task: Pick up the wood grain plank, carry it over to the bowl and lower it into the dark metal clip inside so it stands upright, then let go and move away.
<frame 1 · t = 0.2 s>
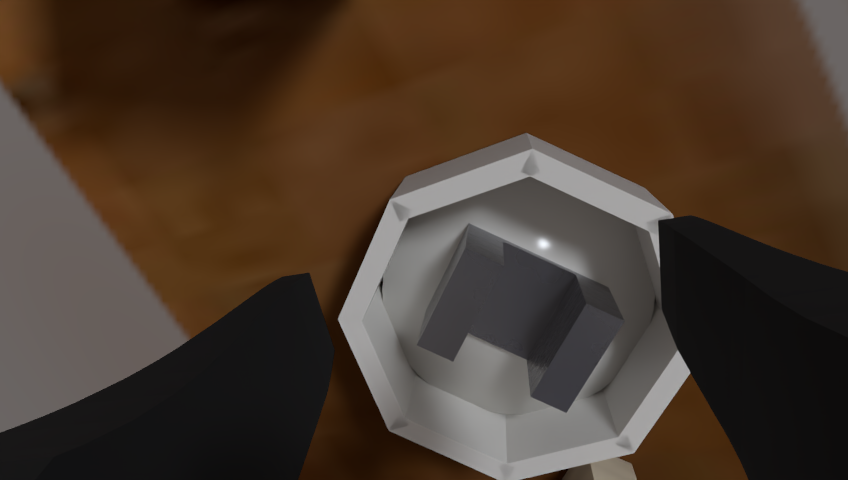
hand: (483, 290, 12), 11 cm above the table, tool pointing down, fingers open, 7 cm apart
bowl: (514, 291, 23), on the table
clip: (516, 315, 21), in the bowl, point 2 cm above the table
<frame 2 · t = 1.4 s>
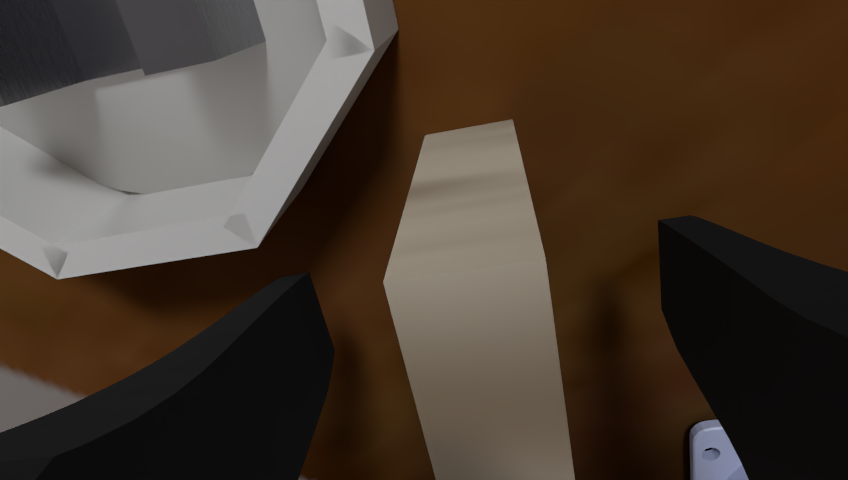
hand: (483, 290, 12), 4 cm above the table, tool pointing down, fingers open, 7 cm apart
wood grain plank: (484, 218, 16), on the table
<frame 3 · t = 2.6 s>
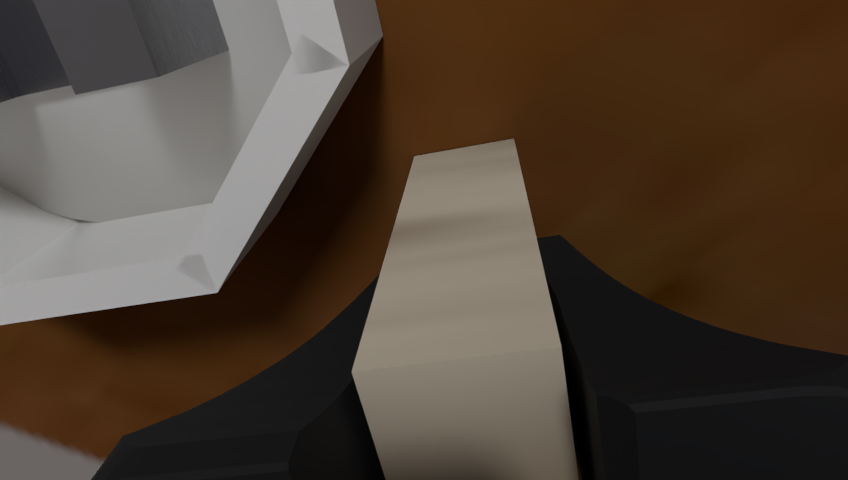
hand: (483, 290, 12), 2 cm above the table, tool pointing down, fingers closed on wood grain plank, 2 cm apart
wood grain plank: (481, 248, 14), on the table, touching gripper
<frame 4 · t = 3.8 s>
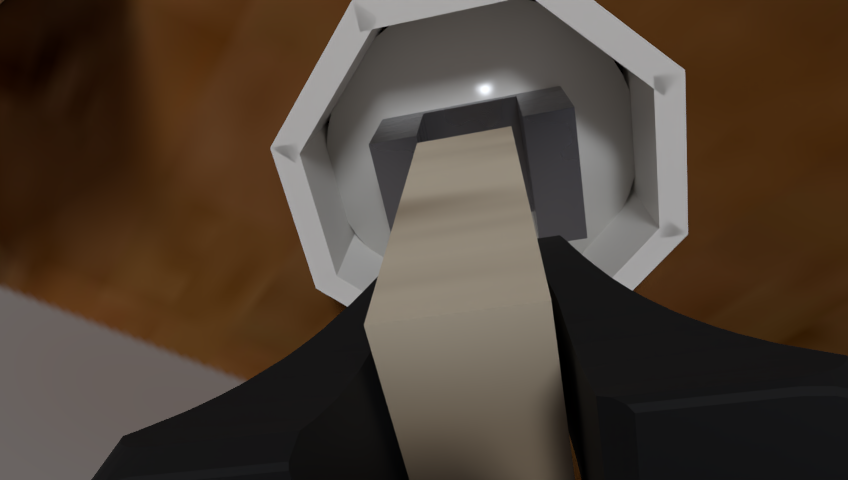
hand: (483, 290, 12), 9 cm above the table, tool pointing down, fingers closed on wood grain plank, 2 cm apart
wood grain plank: (480, 231, 15), point 7 cm above the table, touching gripper
bowl: (479, 154, 20), on the table
clip: (479, 175, 18), in the bowl, point 2 cm above the table
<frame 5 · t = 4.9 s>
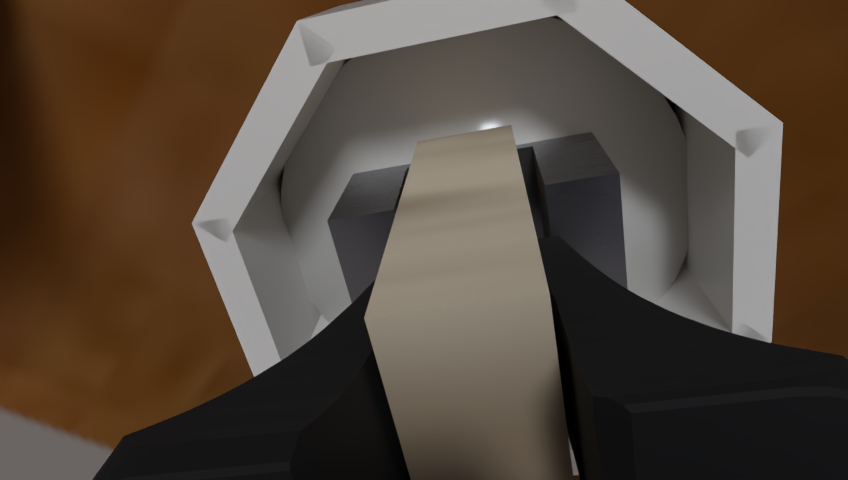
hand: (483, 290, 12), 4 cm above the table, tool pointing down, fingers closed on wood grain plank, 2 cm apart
wood grain plank: (480, 229, 15), point 1 cm above the table, touching clip, gripper
bowl: (481, 215, 16), on the table
clip: (482, 253, 14), in the bowl, point 2 cm above the table
when the fingers open (4 cm above the table, at t = 5.0 s): wood grain plank stays where it is, resting on clip.
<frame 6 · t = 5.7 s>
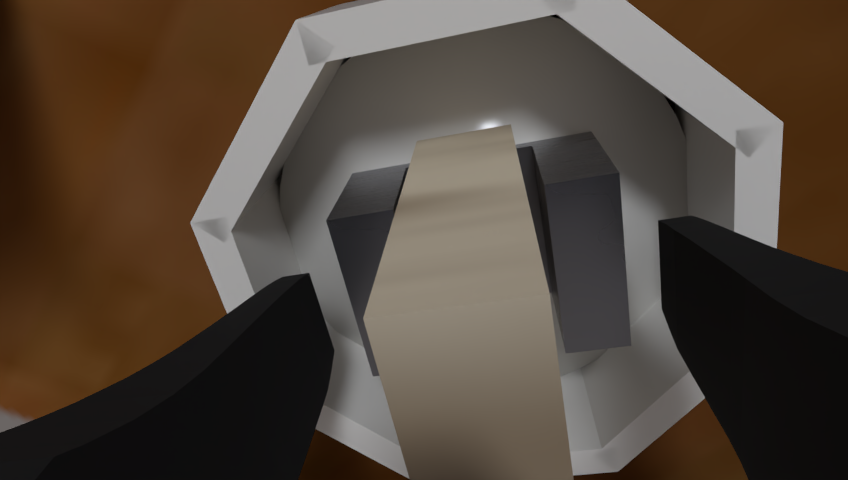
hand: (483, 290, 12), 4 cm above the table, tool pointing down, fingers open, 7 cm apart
wood grain plank: (480, 229, 15), point 1 cm above the table, touching clip
bowl: (481, 215, 16), on the table
clip: (482, 253, 14), in the bowl, point 2 cm above the table
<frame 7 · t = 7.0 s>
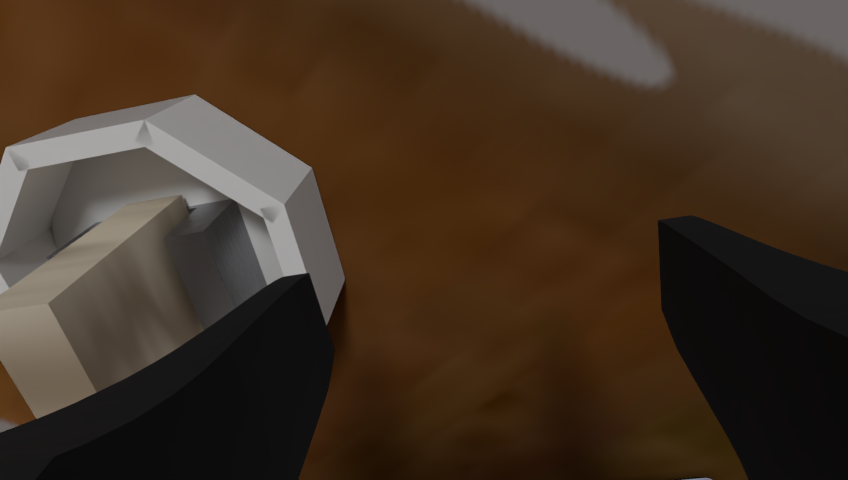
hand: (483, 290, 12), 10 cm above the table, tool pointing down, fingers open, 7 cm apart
wood grain plank: (179, 258, 23), point 1 cm above the table, touching clip
bowl: (192, 247, 24), on the table
clip: (166, 275, 22), in the bowl, point 2 cm above the table
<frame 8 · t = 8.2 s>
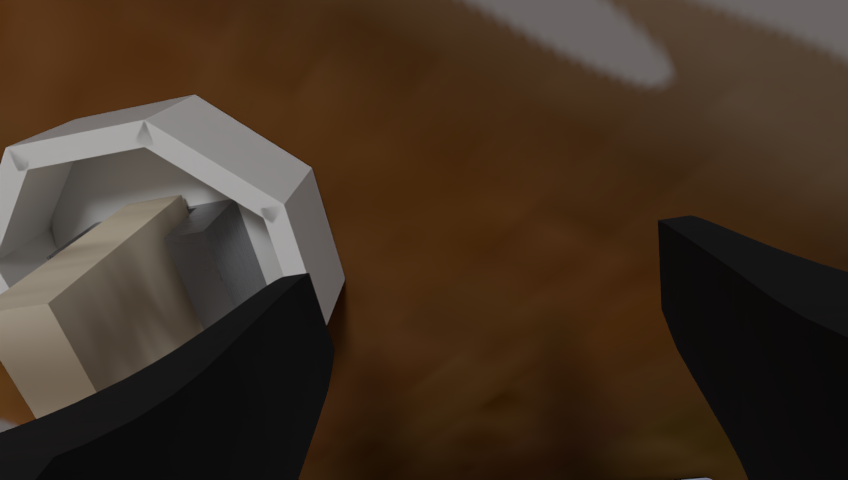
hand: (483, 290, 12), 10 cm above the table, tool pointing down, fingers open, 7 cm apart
wood grain plank: (179, 258, 23), point 1 cm above the table, touching clip
bowl: (192, 248, 24), on the table
clip: (166, 275, 22), in the bowl, point 2 cm above the table
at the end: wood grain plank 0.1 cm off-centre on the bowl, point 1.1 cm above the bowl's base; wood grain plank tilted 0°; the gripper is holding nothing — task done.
